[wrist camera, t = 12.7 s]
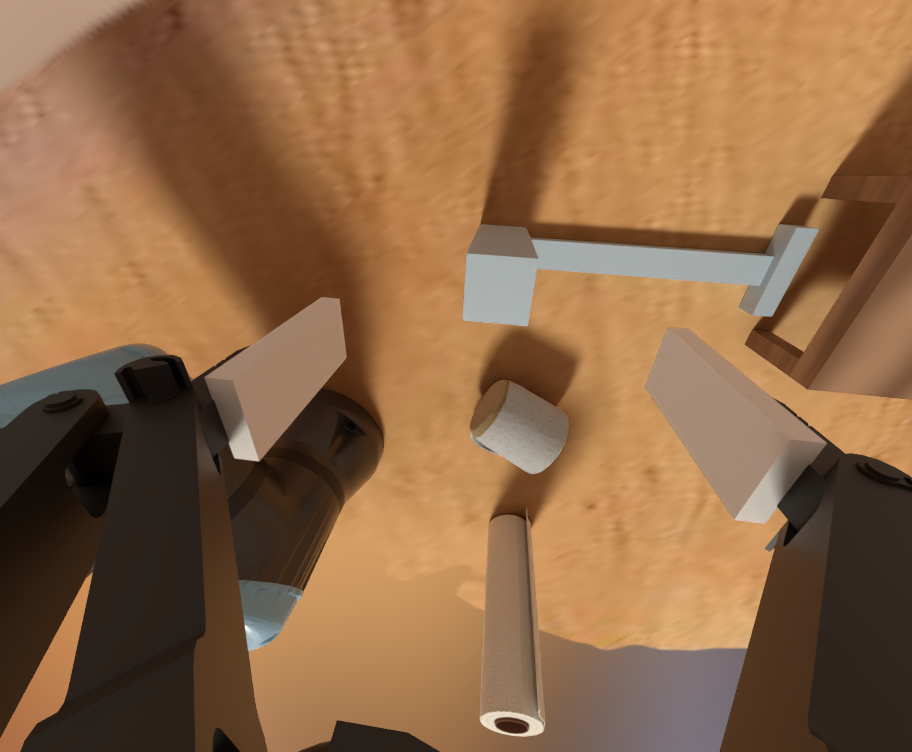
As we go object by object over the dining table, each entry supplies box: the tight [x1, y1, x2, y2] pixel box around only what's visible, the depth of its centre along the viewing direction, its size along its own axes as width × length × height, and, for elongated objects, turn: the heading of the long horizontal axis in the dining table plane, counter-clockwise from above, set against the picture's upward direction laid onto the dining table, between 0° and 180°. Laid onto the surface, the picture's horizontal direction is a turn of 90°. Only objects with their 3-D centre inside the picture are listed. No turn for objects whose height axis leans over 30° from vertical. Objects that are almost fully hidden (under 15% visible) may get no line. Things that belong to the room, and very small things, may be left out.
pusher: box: [463, 224, 819, 326], centre depth 25 cm, size 26×7×13 cm, turn 87°
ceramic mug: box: [470, 380, 569, 474], centre depth 37 cm, size 11×8×8 cm
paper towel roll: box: [480, 508, 545, 736], centre depth 41 cm, size 7×6×21 cm
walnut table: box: [745, 176, 912, 400], centre depth 26 cm, size 12×14×8 cm
